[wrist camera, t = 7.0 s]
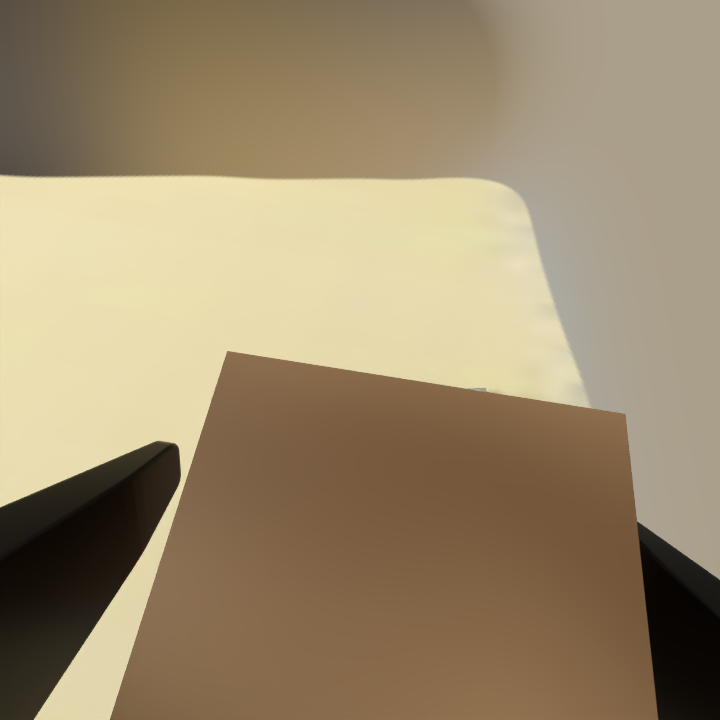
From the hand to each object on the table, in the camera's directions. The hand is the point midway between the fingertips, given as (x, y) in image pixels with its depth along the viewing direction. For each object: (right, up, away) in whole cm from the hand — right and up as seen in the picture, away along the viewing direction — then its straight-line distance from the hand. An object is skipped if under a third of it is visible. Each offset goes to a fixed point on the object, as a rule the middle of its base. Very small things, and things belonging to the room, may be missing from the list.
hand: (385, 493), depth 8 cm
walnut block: (0, -4, +7) cm, 8 cm away
